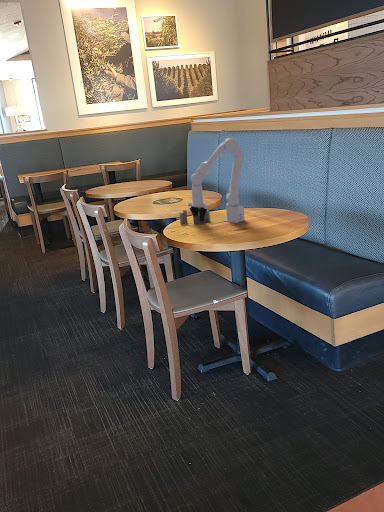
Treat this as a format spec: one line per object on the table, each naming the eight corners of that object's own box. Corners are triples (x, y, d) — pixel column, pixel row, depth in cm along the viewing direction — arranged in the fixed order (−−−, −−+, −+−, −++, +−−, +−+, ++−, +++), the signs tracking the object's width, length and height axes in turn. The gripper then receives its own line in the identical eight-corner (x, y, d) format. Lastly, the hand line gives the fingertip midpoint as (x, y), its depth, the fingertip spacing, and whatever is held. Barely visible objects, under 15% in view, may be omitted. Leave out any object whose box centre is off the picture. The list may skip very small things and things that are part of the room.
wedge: (199, 224, 244) (198, 217, 242) (193, 223, 247) (193, 216, 246) (209, 221, 249) (209, 214, 247) (204, 220, 252) (203, 213, 251)
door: (199, 218, 256) (198, 209, 254) (210, 220, 249) (209, 210, 248) (197, 219, 255) (196, 209, 253) (208, 221, 248) (207, 211, 247)
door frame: (207, 216, 260) (207, 204, 258) (182, 224, 248) (181, 211, 245) (205, 216, 261) (205, 204, 259) (180, 223, 249) (179, 211, 247)
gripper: (183, 196, 245) (185, 220, 249) (201, 198, 234) (203, 223, 239) (192, 193, 249) (194, 217, 253) (210, 196, 239) (212, 220, 243)
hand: (199, 220), depth 246 cm, fingers closed on wedge, 4 cm apart
